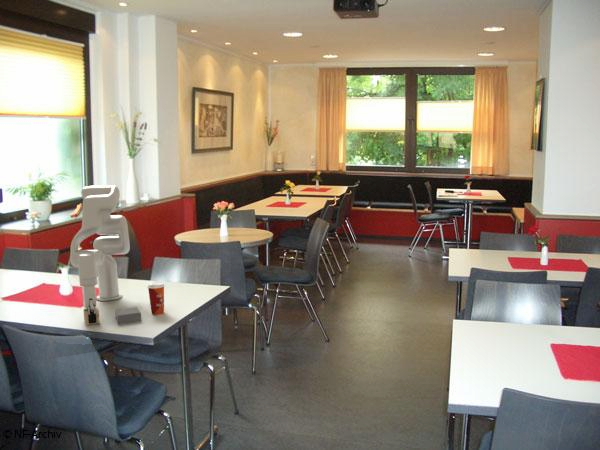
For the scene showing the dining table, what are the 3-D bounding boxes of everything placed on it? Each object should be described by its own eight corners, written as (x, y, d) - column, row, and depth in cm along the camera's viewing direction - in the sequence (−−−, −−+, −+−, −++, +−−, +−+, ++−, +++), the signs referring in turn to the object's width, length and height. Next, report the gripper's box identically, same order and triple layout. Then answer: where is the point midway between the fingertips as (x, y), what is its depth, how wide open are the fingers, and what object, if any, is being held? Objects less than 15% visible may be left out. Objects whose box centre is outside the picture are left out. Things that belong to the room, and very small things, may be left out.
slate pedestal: (115, 318, 286) (114, 309, 285) (137, 315, 290) (137, 306, 289) (118, 324, 277) (117, 315, 276) (141, 321, 281) (140, 312, 280)
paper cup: (162, 315, 288) (160, 285, 286) (146, 315, 289) (144, 285, 287) (169, 310, 295) (167, 281, 293) (153, 310, 297) (151, 281, 295)
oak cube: (84, 321, 283) (83, 308, 282) (98, 319, 285) (97, 306, 284) (85, 325, 277) (84, 312, 277) (99, 323, 280) (98, 310, 279)
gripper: (78, 278, 285) (81, 317, 288) (81, 286, 269) (84, 327, 272) (95, 276, 288) (98, 314, 291) (99, 284, 272) (102, 324, 275)
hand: (91, 320), depth 281 cm, fingers closed on oak cube, 6 cm apart
